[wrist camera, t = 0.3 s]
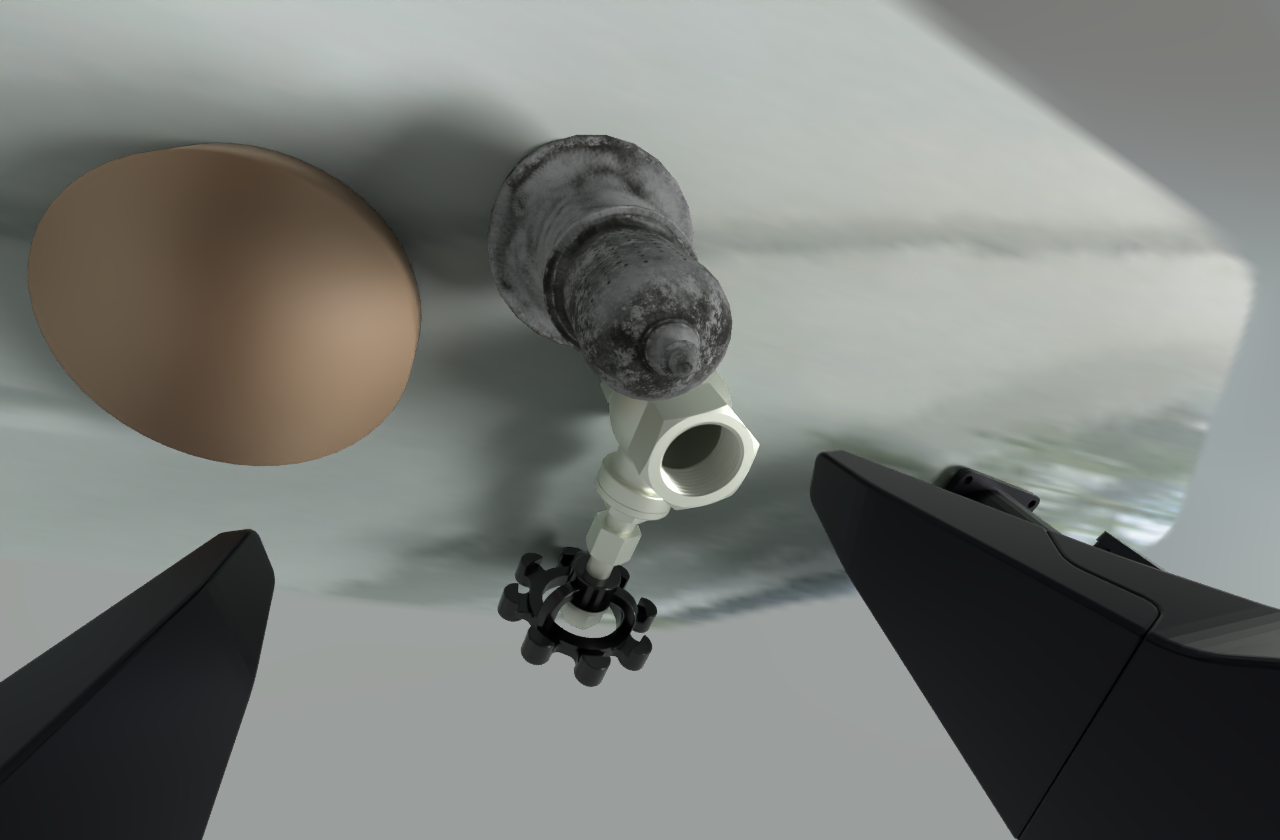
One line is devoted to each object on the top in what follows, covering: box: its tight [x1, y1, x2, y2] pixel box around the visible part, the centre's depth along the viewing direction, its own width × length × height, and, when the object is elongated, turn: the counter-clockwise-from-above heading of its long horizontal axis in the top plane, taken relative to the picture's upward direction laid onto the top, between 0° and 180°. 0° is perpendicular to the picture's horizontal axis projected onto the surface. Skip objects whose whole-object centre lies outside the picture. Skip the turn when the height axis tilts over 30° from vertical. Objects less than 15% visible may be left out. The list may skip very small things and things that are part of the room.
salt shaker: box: [487, 135, 732, 401], centre depth 14 cm, size 6×6×12 cm
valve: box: [498, 370, 760, 687], centre depth 21 cm, size 7×7×12 cm
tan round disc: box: [28, 143, 421, 466], centre depth 17 cm, size 9×9×2 cm
